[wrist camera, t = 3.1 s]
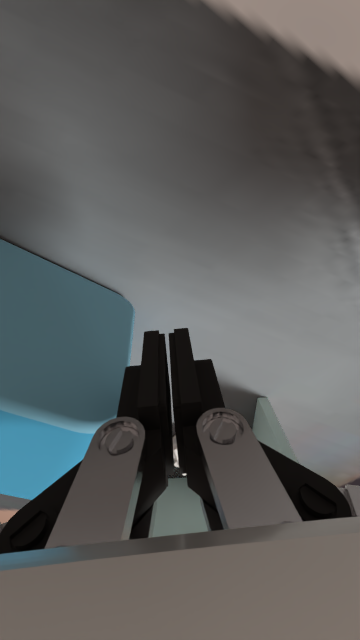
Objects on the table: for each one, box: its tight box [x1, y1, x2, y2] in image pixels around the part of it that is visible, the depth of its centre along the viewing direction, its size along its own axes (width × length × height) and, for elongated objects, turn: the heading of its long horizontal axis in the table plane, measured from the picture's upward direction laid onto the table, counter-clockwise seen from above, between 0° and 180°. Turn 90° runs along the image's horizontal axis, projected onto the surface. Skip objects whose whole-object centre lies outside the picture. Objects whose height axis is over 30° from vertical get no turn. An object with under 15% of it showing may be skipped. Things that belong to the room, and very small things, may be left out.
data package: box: [0, 239, 135, 500], centre depth 14 cm, size 12×4×12 cm, turn 60°
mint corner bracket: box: [152, 397, 299, 537], centre depth 25 cm, size 12×12×8 cm
